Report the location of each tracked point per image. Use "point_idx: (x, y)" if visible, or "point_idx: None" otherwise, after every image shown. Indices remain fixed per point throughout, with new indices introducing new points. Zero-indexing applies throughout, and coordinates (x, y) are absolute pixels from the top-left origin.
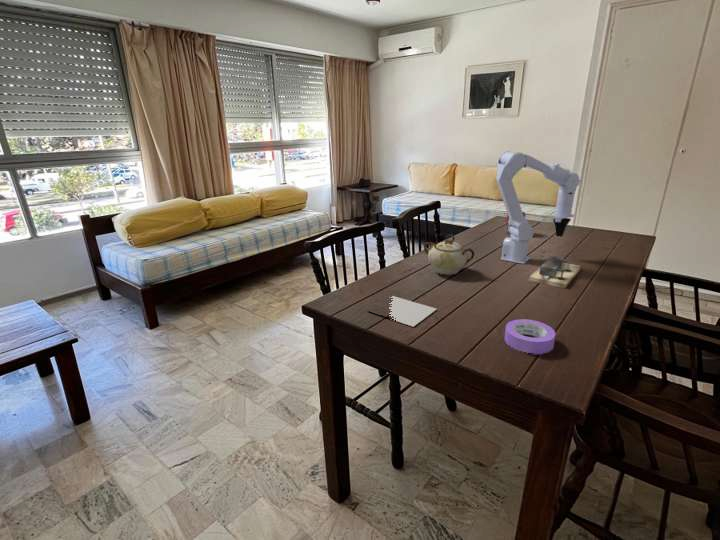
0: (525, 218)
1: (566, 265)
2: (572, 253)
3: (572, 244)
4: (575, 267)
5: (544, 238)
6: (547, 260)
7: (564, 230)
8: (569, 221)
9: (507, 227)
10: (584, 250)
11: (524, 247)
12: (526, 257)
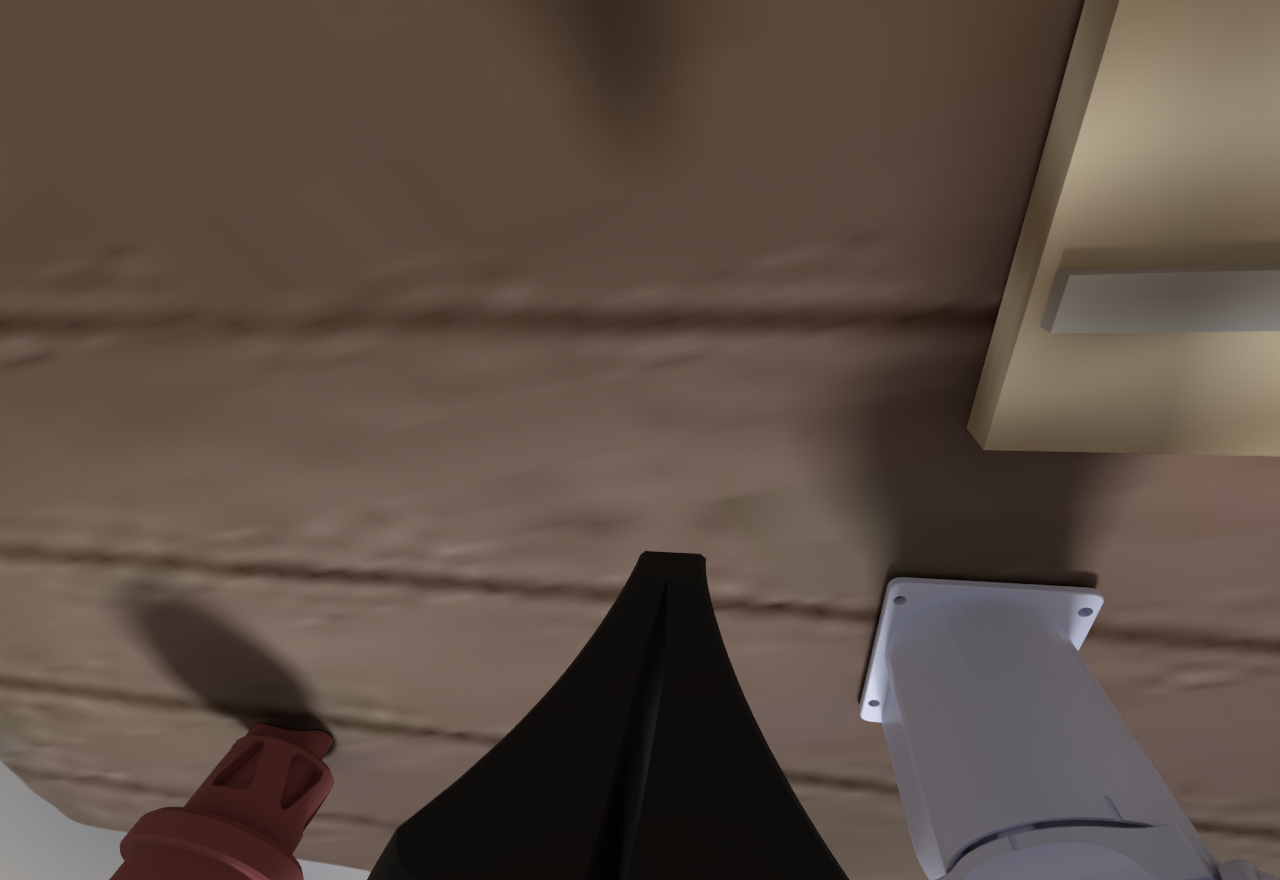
0: (131, 841)
1: (1183, 192)
2: (418, 292)
3: (130, 371)
4: (1274, 30)
5: (204, 587)
6: (1012, 443)
7: (645, 629)
8: (443, 818)
9: (308, 820)
10: (199, 207)
11: (1140, 755)
12: (1001, 616)
